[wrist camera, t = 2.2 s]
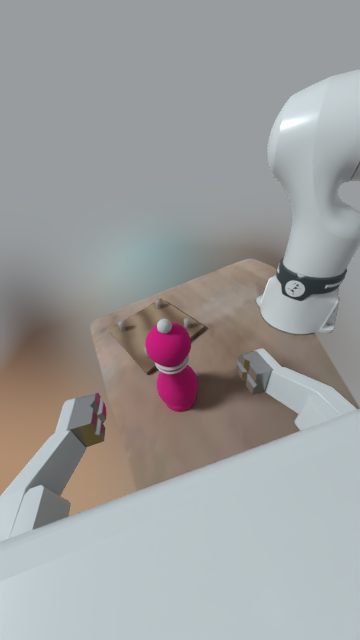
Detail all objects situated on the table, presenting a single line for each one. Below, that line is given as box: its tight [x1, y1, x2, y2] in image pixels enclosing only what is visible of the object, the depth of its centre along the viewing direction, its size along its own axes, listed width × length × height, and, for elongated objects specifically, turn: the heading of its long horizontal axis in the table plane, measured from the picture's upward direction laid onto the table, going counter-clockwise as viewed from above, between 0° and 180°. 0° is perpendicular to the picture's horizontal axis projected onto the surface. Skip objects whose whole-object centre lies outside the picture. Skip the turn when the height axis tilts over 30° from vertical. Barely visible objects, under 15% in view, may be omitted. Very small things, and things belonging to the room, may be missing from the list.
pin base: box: [109, 299, 204, 375], centre depth 46 cm, size 18×18×4 cm
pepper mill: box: [145, 319, 198, 412], centre depth 28 cm, size 7×7×20 cm
